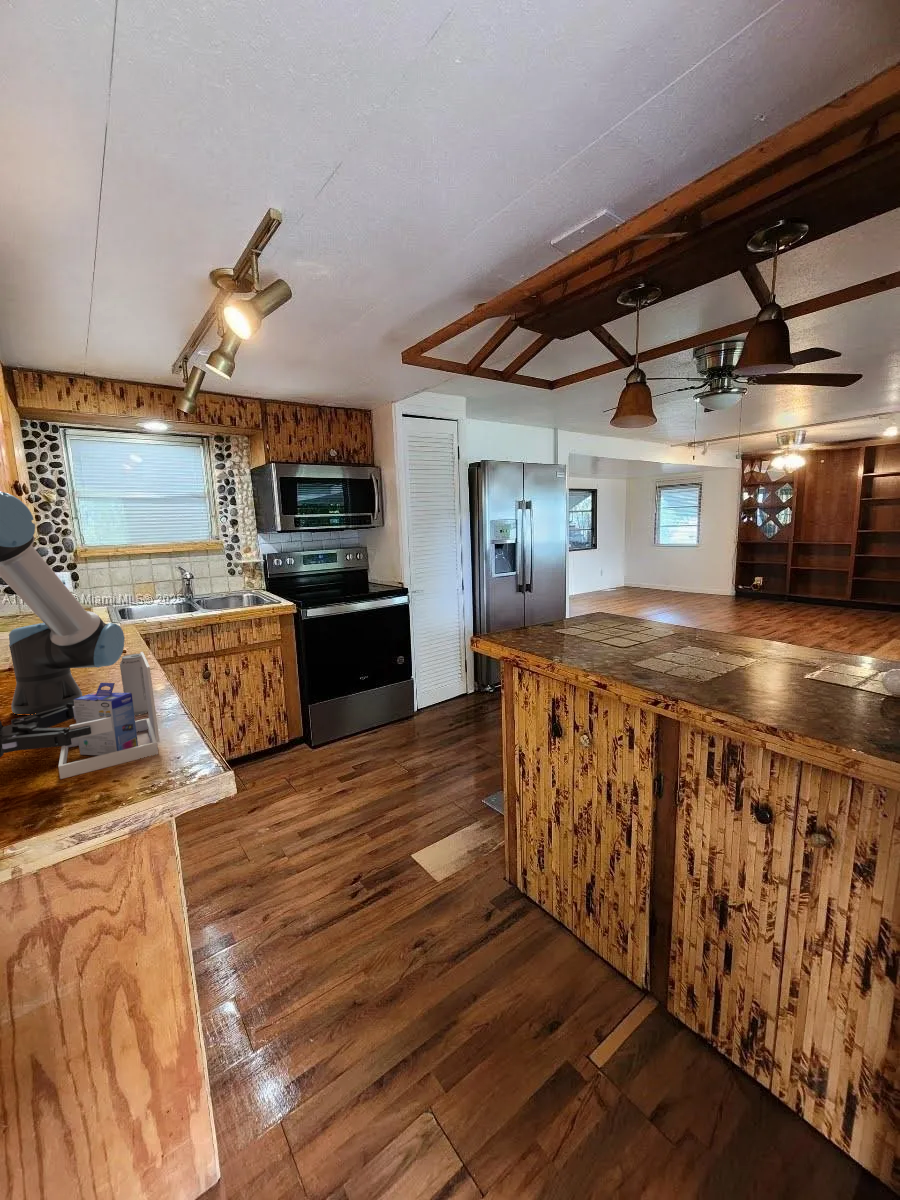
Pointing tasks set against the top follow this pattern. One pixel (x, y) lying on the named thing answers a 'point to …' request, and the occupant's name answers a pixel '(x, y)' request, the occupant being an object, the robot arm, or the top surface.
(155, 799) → the top surface
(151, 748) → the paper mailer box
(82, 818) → the top surface
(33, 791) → the top surface
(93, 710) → the ink cartridge box
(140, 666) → the energy drink can
